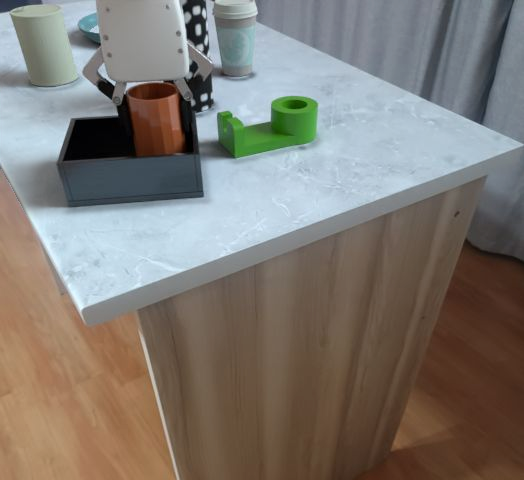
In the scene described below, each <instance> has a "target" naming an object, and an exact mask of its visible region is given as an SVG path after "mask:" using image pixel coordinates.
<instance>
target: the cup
mask: <svg viewBox="0 0 524 480" xmlns="http://www.w3.org/2000/svg"><path fill="white" fill-rule="evenodd" d="M124 94H125V96H126V101H127V106H128V111H129V116H130V122H131V127H132V132H133V138H134V143H135V149H136V154H137V156H146V155H160V154H175V153H187V149H186V141H185V132H184V131H183V122H182V114H181V106H180V91H179V90H178V88H177V86H176V85H174V84H170V83H165V82H163V81H151V82H142V83H138V84H135V85H133V86H130V87H129V88H127V89H125V92H124Z"/></svg>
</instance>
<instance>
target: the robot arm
mask: <svg viewBox="0 0 524 480" xmlns="http://www.w3.org/2000/svg"><path fill="white" fill-rule="evenodd" d="M95 6H96V12H97V19H98V27H99V34H100V40H101V44H100V45H99V47H98V48H97V50H96V51H95V52H94V54H93V55H92V56H91V57H90V59H89V60H88V61H87V62H86V64H85V65H83V68H82V73H81V74H82V76H83V77H84V78H85V79H86V80H87V81H89V82H90V83H91V84H92V85H93V86H95V87H96V88H97V90H98V91H99V92H100V93H102V94H103V95H104V96H105V97H106V98H108V99H109V100H110V101H111V102H112V104H113V105H115V107H116V112H117V115H118V117H119V122H120V127H121V128H125V129H126V134H127V137H130V136H131V135H133V132H132V127H131V122H130V116H129V111H128V106H127V101H126V96H125V93H126V88H127V84H129V83H130V84H131V83H148V82H163V81H167V80H173V81H174V83H175V85H176V86H177V88H178V90H179V91H180V93H181V95H180V106H181V114H182V122H183V131H184V132H185V133H189V125H188V123H193V114H192V105H191V100H192V98H193V95H194V94H195V93H196V92H197V90H198V89H199V88H200V87H201V85H202V84H203V82H204V80H205V79H206V78H207V76H208V75H209V73H210V72H211V73H212V70H213V69H214V62H213V60H212V59H211V57H210V58H209V57H207V56H206V55H205V54H204V53H203V52H202V51H200V50H199V49H198V48H197V47H196V46H194V45H193V44H192V43H191V42H190V41H188V40H187V35H186V28H185V22H184V15H183V9H182V4H181V0H95ZM189 57H190V58H191V59H192V60H193V61H195V62H196V63H197V64H198V65H199V68H198V70H197V71H196V73H194V75H193V76H192V77H191V78H190V80H189V81H188V80H187V78H186V76H187V75H188V73H189ZM103 64H104V68H105V71H106V75H107V77H108V79H110V80H111V81H113V82H115V84H113V83H112V82H111V81H110V80H108V79H107V78H106V77H104V76H102V74H101V73H100V72H99V69H100V68H101V67H102V66H103Z"/></svg>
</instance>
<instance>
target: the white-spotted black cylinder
mask: <svg viewBox="0 0 524 480" xmlns="http://www.w3.org/2000/svg"><path fill="white" fill-rule="evenodd" d="M181 4H182V9H183V15H184V22H185V28H186V35H187V40H188V41H190V42H191V43H192V44H193V45H194V46H196V47H197V48H198V49H199V50H200V51H202V52H203V53H204V54H205V55H206V56H207V57H209V58H210V59H211V51H210V50H211V49H210V38H209V36H210V35H209V24H208V11H207V10H208V8H207V0H181ZM198 68H199V65H198V64H197V63H196V62H195V61H193V60H192V59H191V58H190V57H189V73H188V75H187V76H186V78H187V80H188V81H189V80H190V78H191V77H192V76H193V75H194V73H196V71H197V70H198ZM162 82H165V83H170V84H174V85H175V83H174V81H173V80H167V81H162ZM180 95H181V93H180ZM214 104H215V103H214V89H213V80H212V71H211V72H210V73H209V75H208V76H207V78H206V79H205V80H204V82H203V84H202V85H201V87H200V88H199V89H198V90H197V92H196V93H195V94H194V95H193V98H192V100H191V105H192V111H194V110H195V113H200V112H205V111H206V110H209V109H210V108H212V107H213V106H214Z"/></svg>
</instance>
